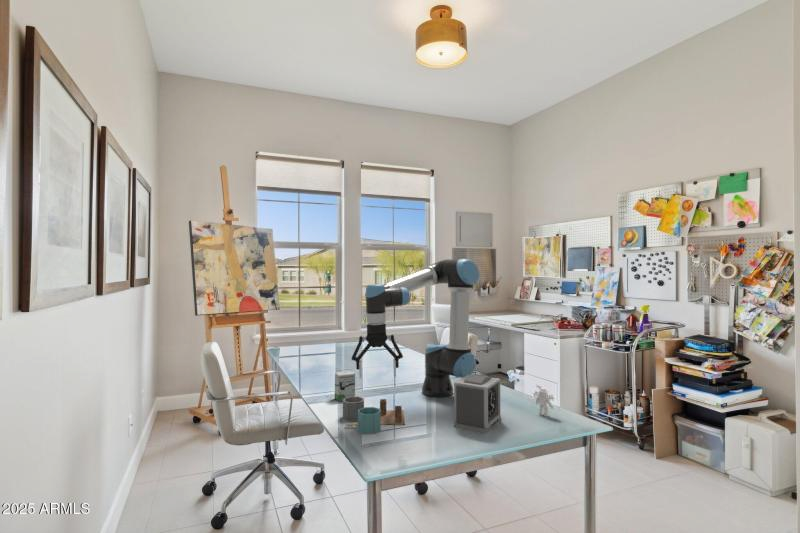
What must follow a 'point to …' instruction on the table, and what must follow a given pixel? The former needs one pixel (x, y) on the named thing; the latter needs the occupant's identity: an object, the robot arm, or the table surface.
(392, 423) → the stand
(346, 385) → the ink box
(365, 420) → the tube teal
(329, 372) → the table surface
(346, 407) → the tube charcoal
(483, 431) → the alarm clock
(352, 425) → the card
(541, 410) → the blocky character figurine
